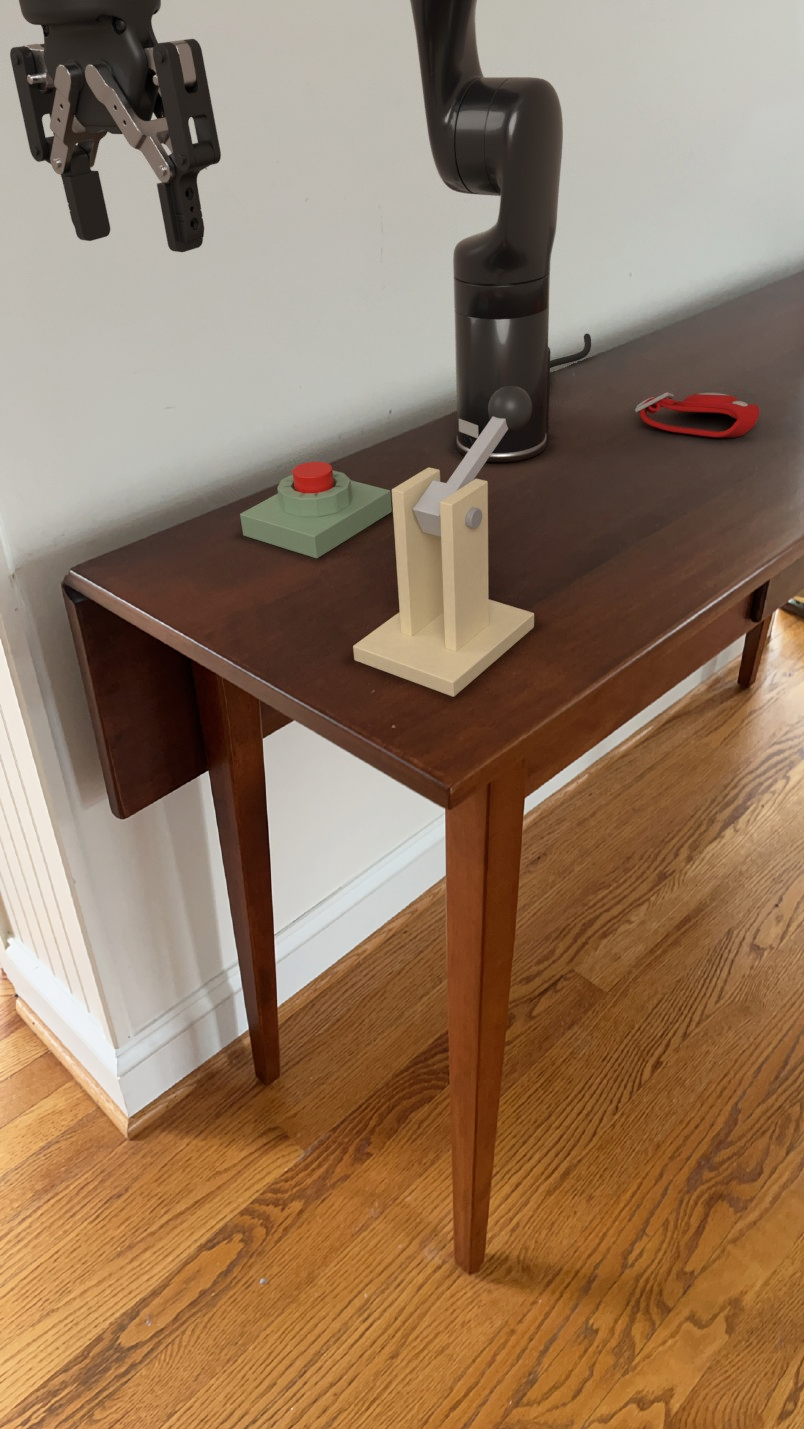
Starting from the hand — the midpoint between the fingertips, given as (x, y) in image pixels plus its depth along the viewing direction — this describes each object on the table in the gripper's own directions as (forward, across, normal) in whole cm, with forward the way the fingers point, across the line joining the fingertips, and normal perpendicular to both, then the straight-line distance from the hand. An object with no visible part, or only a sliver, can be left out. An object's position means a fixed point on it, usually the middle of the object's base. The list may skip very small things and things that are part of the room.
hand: (139, 243), depth 63 cm
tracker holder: (+29, -14, -58) cm, 67 cm away
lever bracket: (+29, -16, -8) cm, 34 cm away
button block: (+29, +6, -19) cm, 35 cm away
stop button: (+25, +6, -19) cm, 32 cm away
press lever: (+17, -16, -14) cm, 27 cm away
